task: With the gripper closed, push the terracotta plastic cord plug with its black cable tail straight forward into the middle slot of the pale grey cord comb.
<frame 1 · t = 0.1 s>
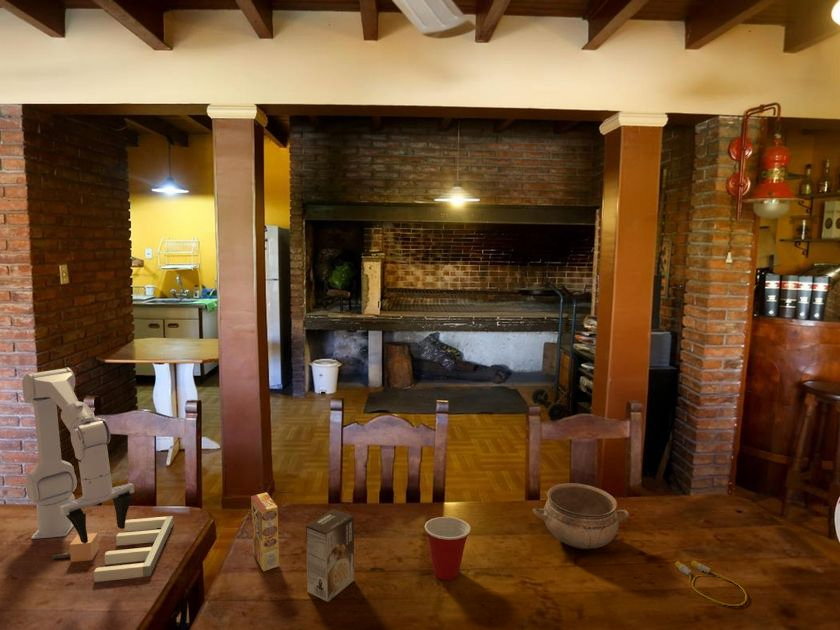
hand: (103, 534, 119), 11 cm above the table, tool pointing down, fingers open, 7 cm apart
candy box: (265, 561, 128), on the table
cord comb: (137, 550, 131), on the table
cooking pot: (578, 542, 139), on the table
yellow looped cord: (712, 587, 123), on the table
plastic cup: (446, 573, 125), on the table
cord plug: (85, 555, 128), on the table
coffee box: (330, 587, 119), on the table
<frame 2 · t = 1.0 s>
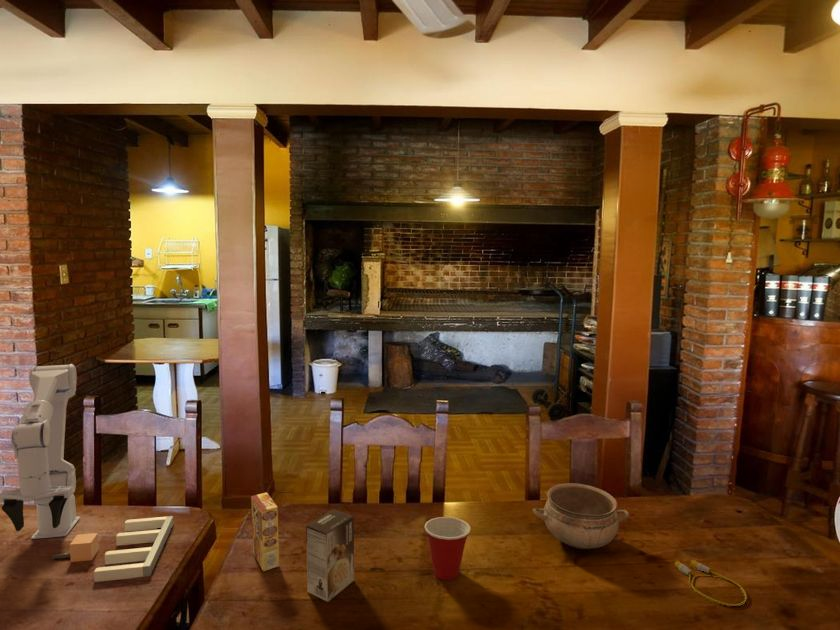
hand: (38, 527, 125), 8 cm above the table, tool pointing down, fingers open, 7 cm apart
nothing on the table moved.
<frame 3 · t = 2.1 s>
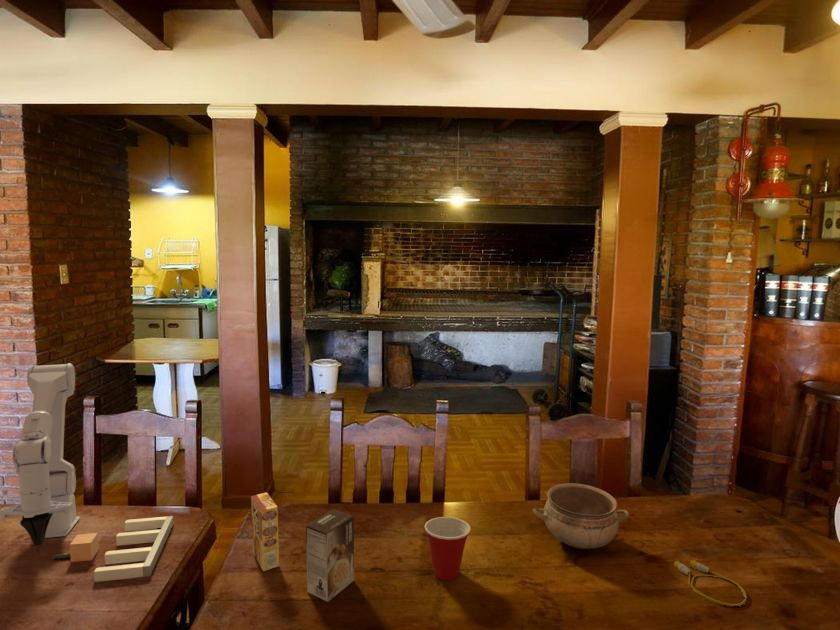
hand: (39, 543, 125), 4 cm above the table, tool pointing down, fingers closed
nothing on the table moved.
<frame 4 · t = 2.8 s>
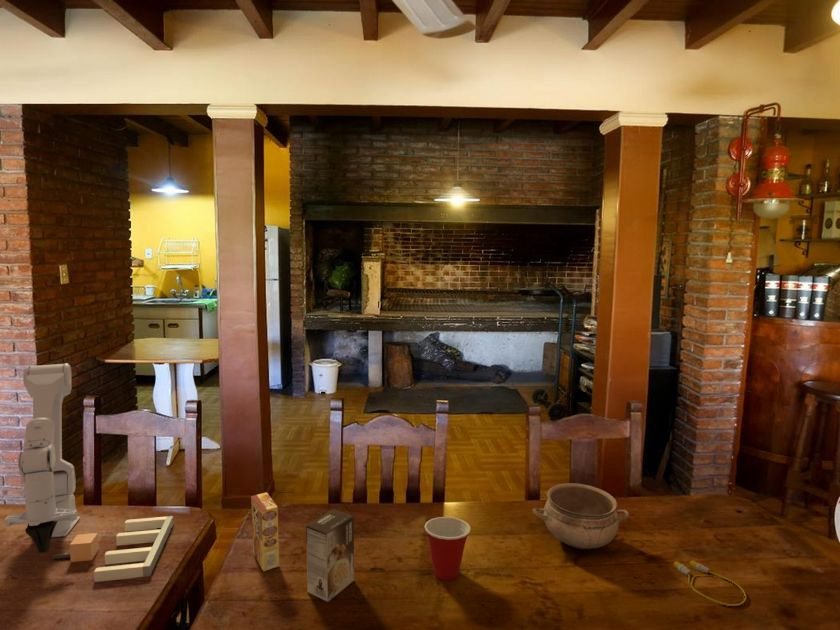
hand: (44, 550, 126), 2 cm above the table, tool pointing down, fingers closed
nothing on the table moved.
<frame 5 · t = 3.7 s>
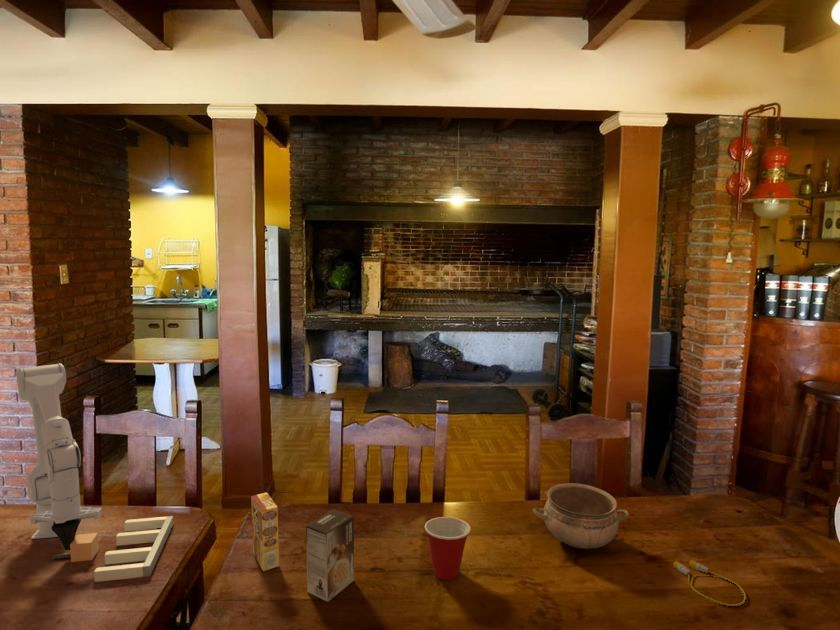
hand: (69, 548, 127), 2 cm above the table, tool pointing down, fingers closed
cord plug: (85, 555, 128), on the table, touching gripper
everything else where it was.
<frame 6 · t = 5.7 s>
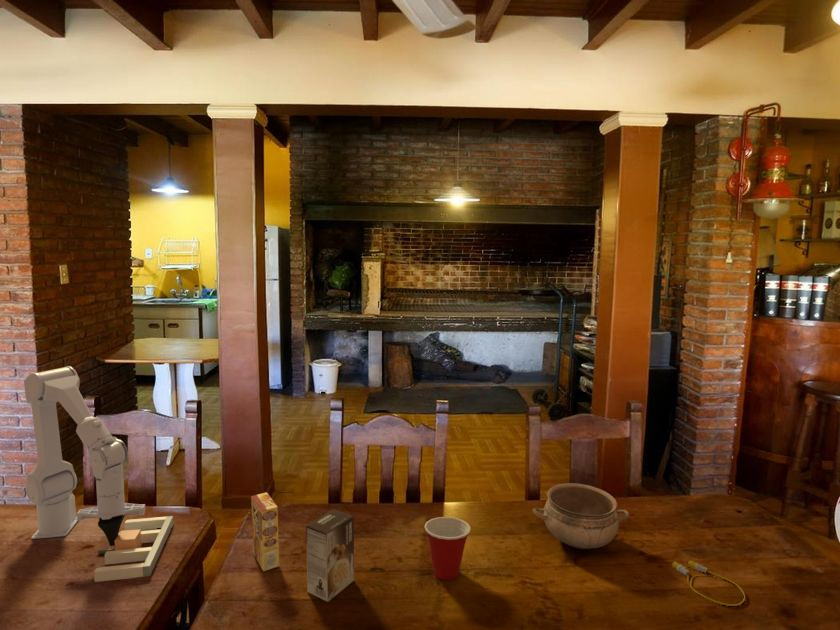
hand: (113, 543, 129), 2 cm above the table, tool pointing down, fingers closed
cord plug: (128, 551, 130), on the table, touching gripper
everything else where it was.
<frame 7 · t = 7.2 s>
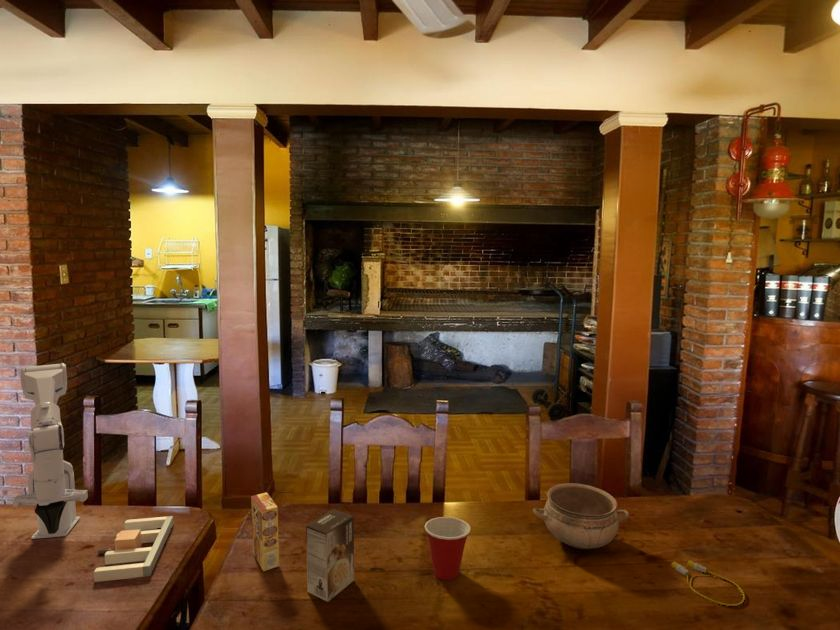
hand: (53, 531, 123), 8 cm above the table, tool pointing down, fingers closed
cord plug: (128, 551, 130), on the table
everything else where it was.
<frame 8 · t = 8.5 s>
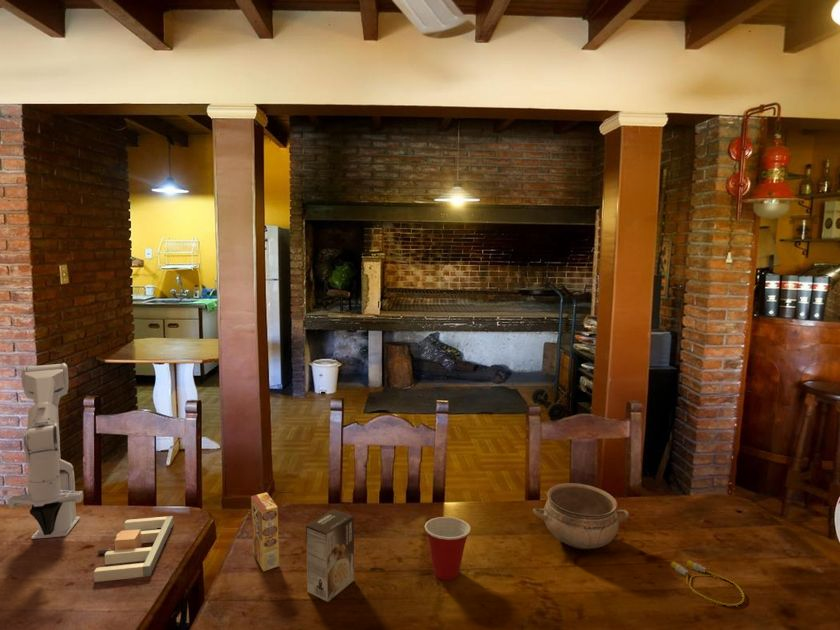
hand: (49, 532, 123), 8 cm above the table, tool pointing down, fingers closed
nothing on the table moved.
at the end: cord plug 1.8 cm from the target spot, on the table; cord plug moved 9.7 cm from its start; cord plug tilted 0° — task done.
